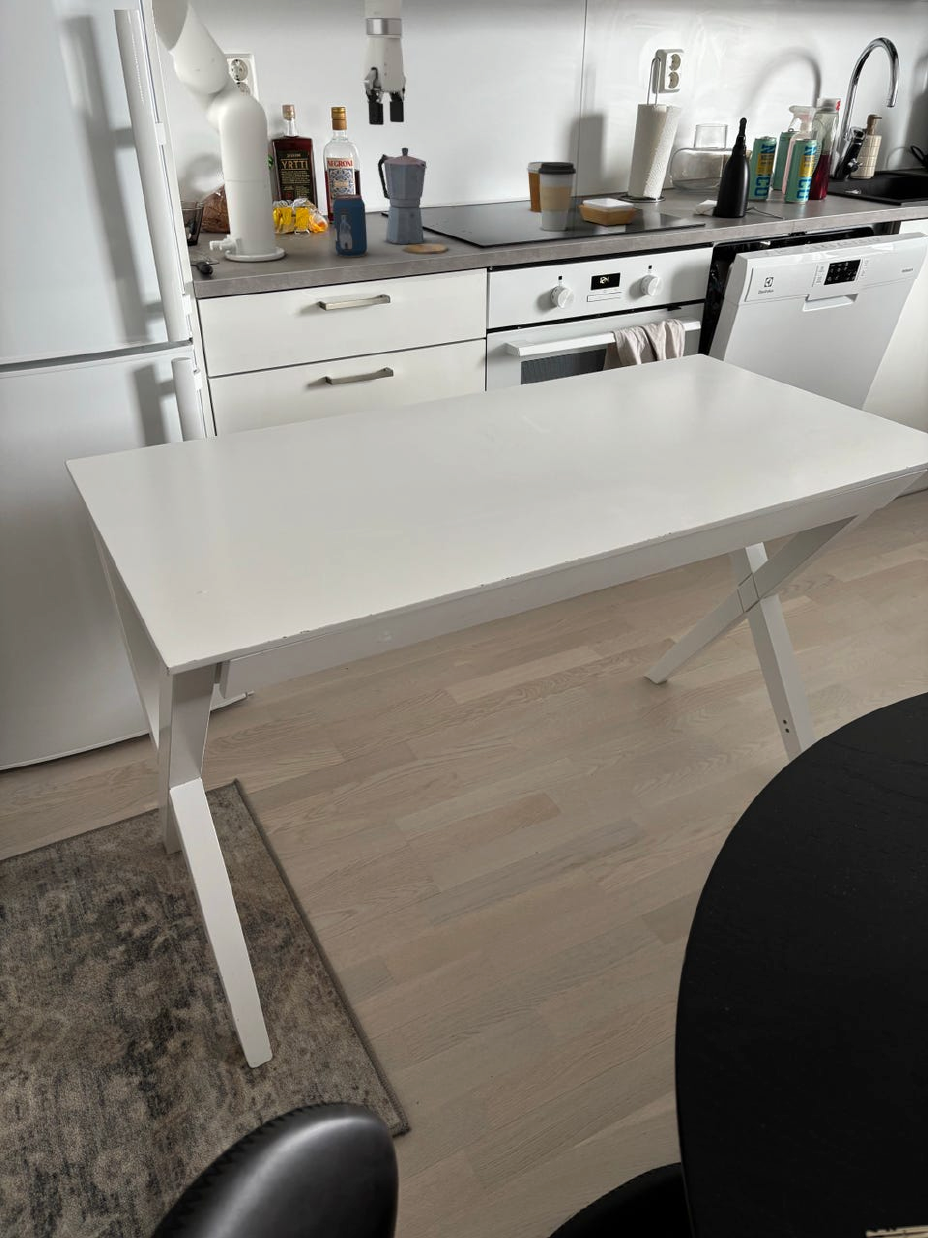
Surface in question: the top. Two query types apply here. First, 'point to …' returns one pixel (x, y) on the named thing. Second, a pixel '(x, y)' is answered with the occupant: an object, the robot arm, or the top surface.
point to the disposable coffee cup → (534, 185)
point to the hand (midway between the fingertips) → (386, 123)
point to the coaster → (425, 248)
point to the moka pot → (403, 197)
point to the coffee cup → (555, 194)
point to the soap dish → (607, 211)
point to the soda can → (350, 225)
